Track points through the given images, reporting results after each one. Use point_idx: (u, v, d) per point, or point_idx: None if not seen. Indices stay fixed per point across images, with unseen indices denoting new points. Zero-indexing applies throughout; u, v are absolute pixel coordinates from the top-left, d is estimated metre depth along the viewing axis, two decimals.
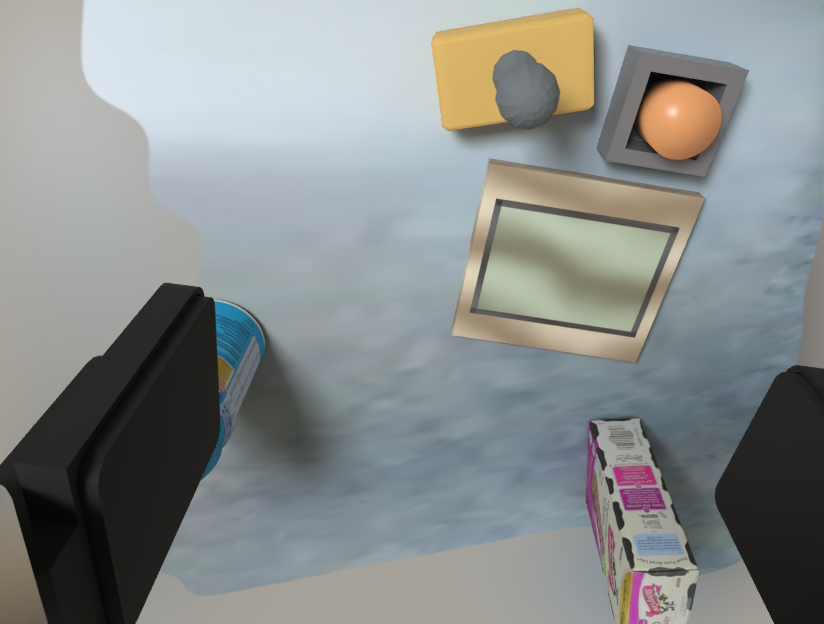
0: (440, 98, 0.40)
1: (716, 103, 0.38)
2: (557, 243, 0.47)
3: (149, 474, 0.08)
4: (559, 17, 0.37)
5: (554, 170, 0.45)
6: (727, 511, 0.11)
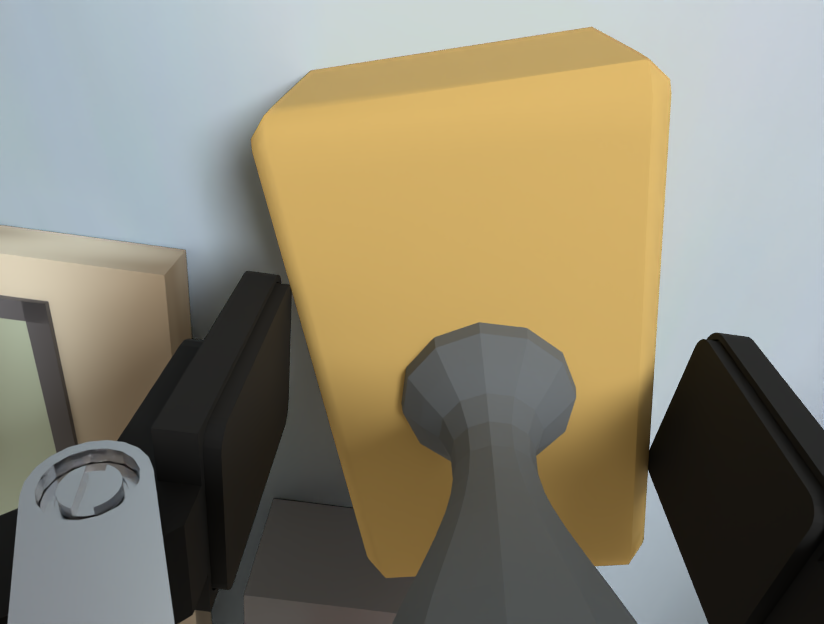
0: (398, 105, 0.08)
1: None
2: None
3: (248, 445, 0.08)
4: None
5: None
6: (656, 474, 0.11)
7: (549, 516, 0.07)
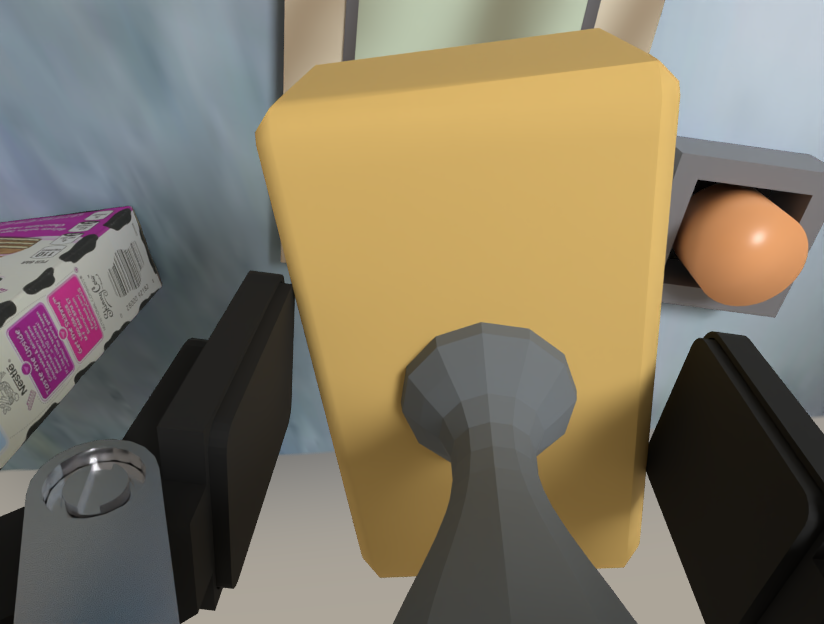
0: (405, 101, 0.08)
1: (774, 294, 0.26)
2: None
3: (252, 444, 0.08)
4: None
5: None
6: (653, 473, 0.11)
7: (551, 518, 0.07)
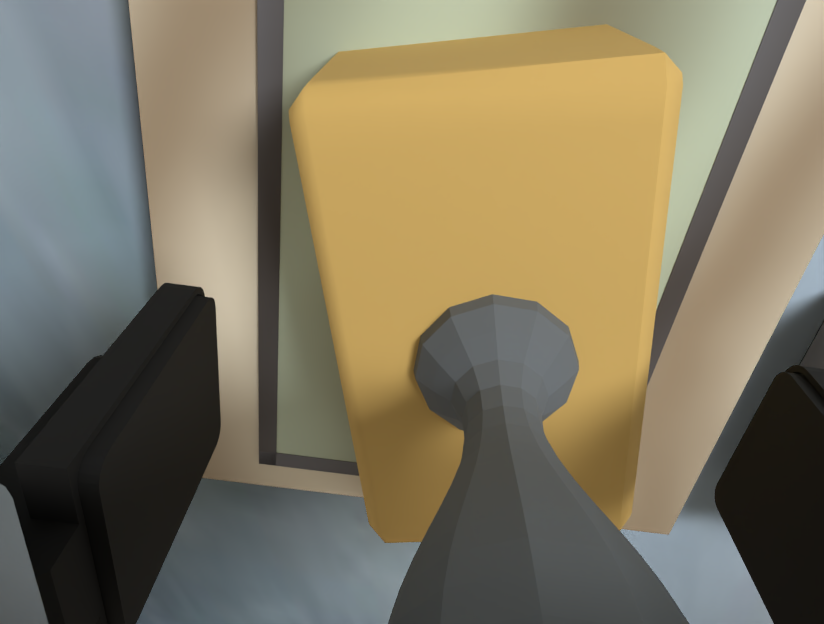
0: (431, 84, 0.09)
1: None
2: None
3: (150, 474, 0.08)
4: None
5: None
6: (727, 511, 0.11)
7: (558, 466, 0.08)
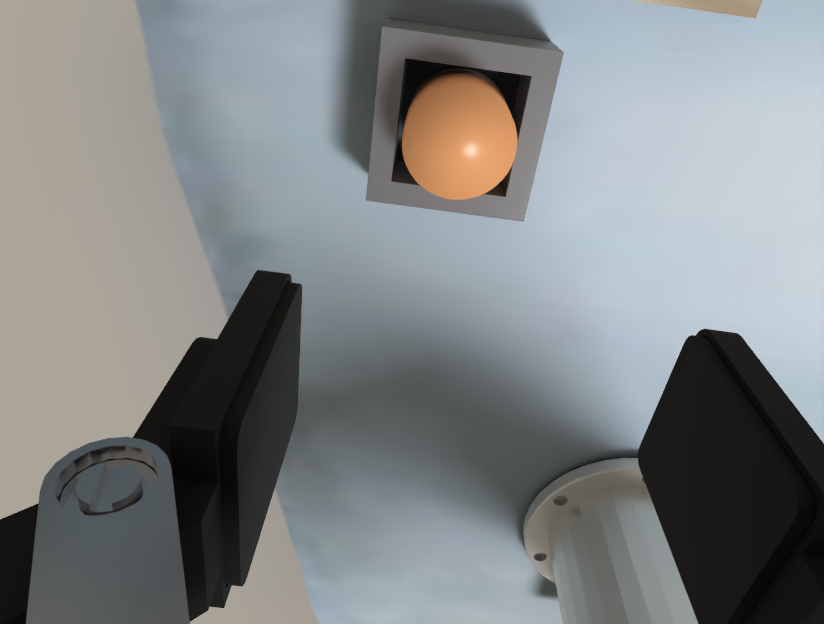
0: None
1: (417, 179, 0.24)
2: None
3: (261, 443, 0.08)
4: None
5: None
6: (646, 470, 0.11)
7: None
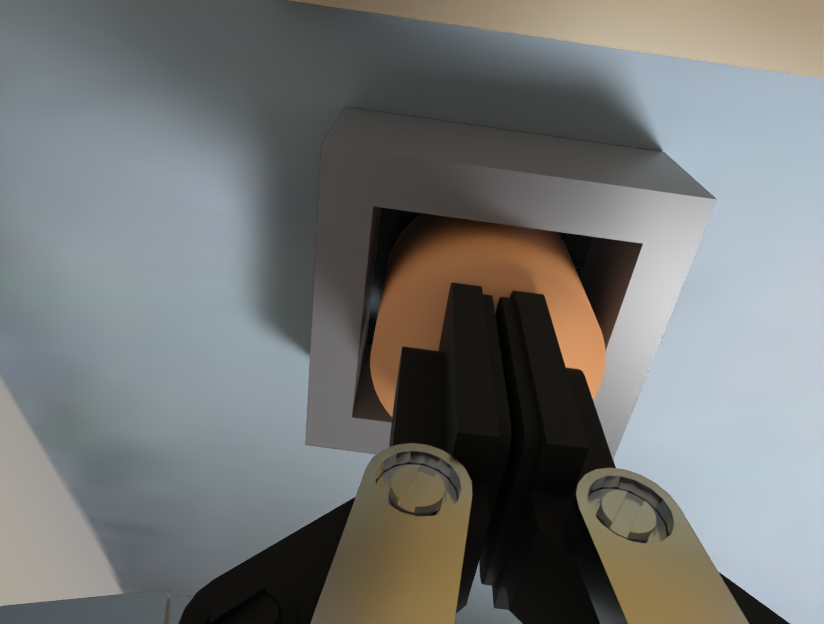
0: None
1: None
2: None
3: None
4: None
5: None
6: None
7: None
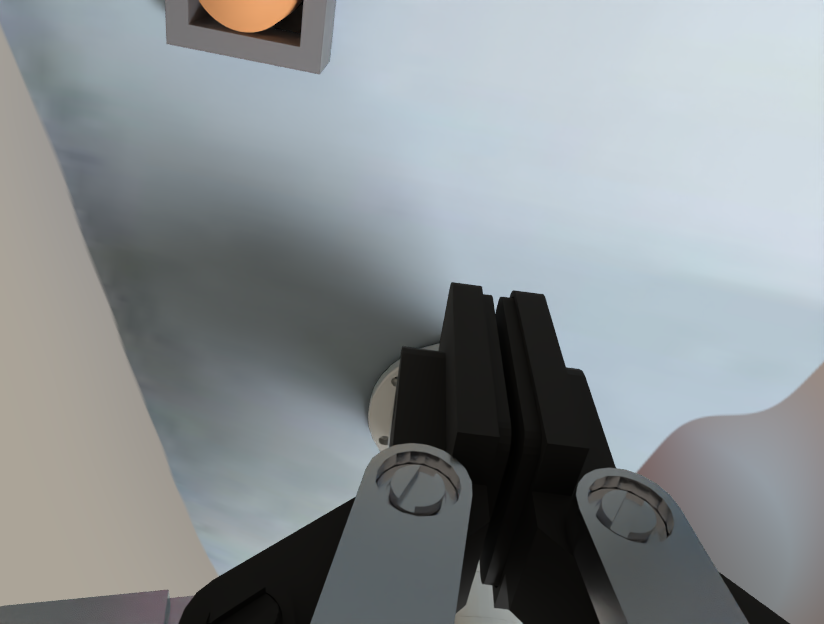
0: None
1: (207, 9, 0.26)
2: None
3: None
4: None
5: None
6: None
7: None
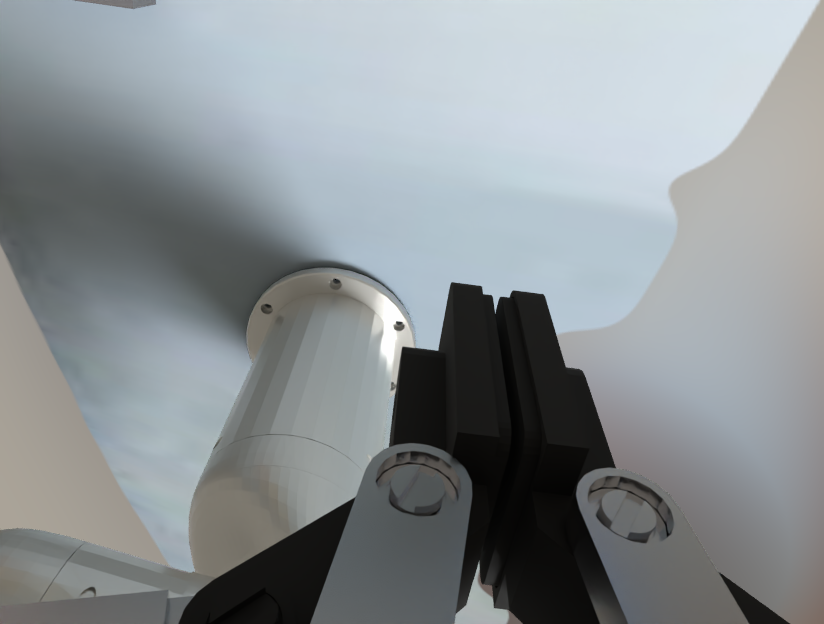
0: None
1: None
2: None
3: None
4: None
5: None
6: None
7: None
